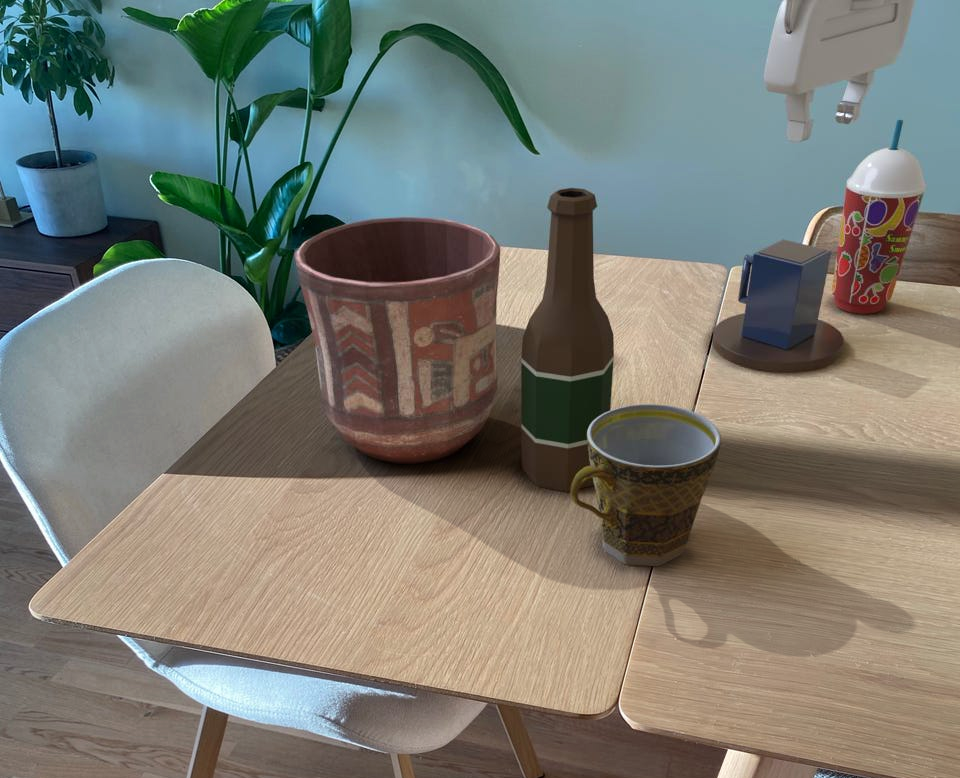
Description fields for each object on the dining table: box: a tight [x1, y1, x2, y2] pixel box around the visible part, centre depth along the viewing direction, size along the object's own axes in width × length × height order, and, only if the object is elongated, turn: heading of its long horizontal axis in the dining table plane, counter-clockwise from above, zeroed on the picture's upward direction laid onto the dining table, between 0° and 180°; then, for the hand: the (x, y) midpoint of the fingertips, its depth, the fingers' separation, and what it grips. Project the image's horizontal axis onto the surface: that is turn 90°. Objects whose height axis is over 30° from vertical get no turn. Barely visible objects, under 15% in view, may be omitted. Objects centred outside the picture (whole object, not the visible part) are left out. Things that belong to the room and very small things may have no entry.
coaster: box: [712, 312, 845, 374], centre depth 108 cm, size 14×14×1 cm
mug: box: [737, 239, 832, 350], centre depth 106 cm, size 8×6×9 cm
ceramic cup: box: [569, 403, 722, 567], centre depth 76 cm, size 13×10×10 cm
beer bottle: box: [520, 187, 615, 493], centre depth 81 cm, size 8×8×24 cm
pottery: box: [294, 216, 501, 465], centre depth 89 cm, size 18×18×18 cm
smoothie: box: [831, 119, 927, 315], centre depth 110 cm, size 8×8×20 cm
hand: (822, 131), depth 96 cm, fingers open, 8 cm apart
